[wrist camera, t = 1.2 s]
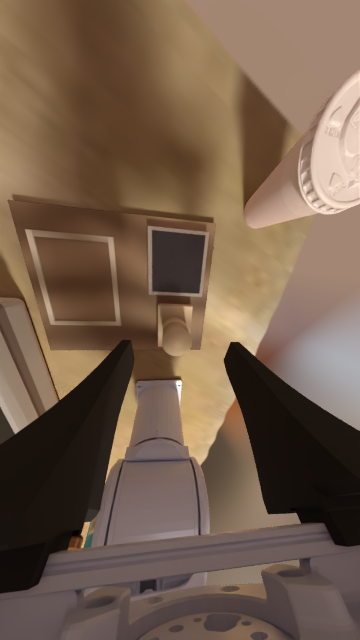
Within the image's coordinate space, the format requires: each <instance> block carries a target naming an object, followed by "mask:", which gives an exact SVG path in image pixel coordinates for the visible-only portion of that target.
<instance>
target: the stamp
mask: <svg viewBox="0 0 360 640" xmlns="http://www.w3.org/2000/svg"><path fill="white" fill-rule="evenodd" d="M192 310H193V306H192V305H191V304H177V303H159V304H158V347H163V349H164V350H165V352H166V353H168V354H169V355H172V356H181V355H184V354H186V353H187V352H188V351H189V350H190V348H191V346H192V338H191V336H190V331H191V320H192Z"/></svg>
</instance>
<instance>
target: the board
mask: <svg viewBox="0 0 360 640" xmlns="http://www.w3.org/2000/svg"><path fill="white" fill-rule="evenodd" d="M8 203H9V207H10V210H11V213H12V217H13V220H14V224H15V227H16V231H17V234H18V238H19V241H20V245H21V248H22V252H23V255H24V259H25V262H26V266H27V269H28V273H29V276H30V280H31V283H32V287H33V290H34V293H35V297H36V300H37V304H38V307H39V311H40V314H41V318H42V321H43V325H44V328H45V332H46V335H47V339H48V342H49V346H50V349H51V350H113V349H114V348H115V347H116V346H117V345H118V344H119V342H120V341H121V340H131V341H132V347H133V350H164V349H163V347H158V304H159V303H177V304H191V305H192V306H193V310H192V320H191V331H190V336H191V338H192V346H191V348H190V350H200V347H201V339H202V331H203V323H204V316H205V308H206V300H207V292H208V284H209V276H210V268H211V260H212V252H213V244H214V236H215V228H216V223H208V222H199V221H191V220H182V219H173V218H164V217H155V216H146V215H137V214H128V213H120V212H111V211H102V210H93V209H84V208H75V207H66V206H57V205H48V204H40V203H31V202H22V201H13V200H8ZM148 226H154V227H164V228H174V229H183V230H193V231H202V232H209V239H208V248H207V257H206V265H205V274H204V283H203V292H202V297H194V296H172V295H149V286H148Z"/></svg>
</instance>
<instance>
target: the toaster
mask: <svg viewBox="0 0 360 640" xmlns="http://www.w3.org/2000/svg"><path fill="white" fill-rule="evenodd" d="M57 402H59V401H58V398H57V395H56V392H55V389H54V386H53V383H52V381H51V378H50V375H49V372H48V369H47V366H46V363H45V360H44V358H43V355H42V352H41V349H40V346H39V343H38V340H37V337H36V335H35V332H34V329H33V326H32V323H31V320H30V317H29V314H28V312H27V309H26V306H25V303H24V301H22V300H21V299H19V298H0V444H2V443H3V442H5V441H6V440H8V439H9V438H10V437H12V436H13V435H15V434H16V433H17V432H19V431H20V430H22V429H23V428H24V427H26V426H27V425H28V424H30V423H31V422H33V421H34V420H35V419H37V418H38V417H39V416H41V415H42V414H43V413H45V412H46V411H47V410H49V409H50V408H51V407H52V406H54V405H55V404H56V403H57Z"/></svg>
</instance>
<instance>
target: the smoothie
mask: <svg viewBox="0 0 360 640" xmlns="http://www.w3.org/2000/svg"><path fill="white" fill-rule="evenodd" d="M358 204H360V70H358V71H357V72H355V73H354V74H353V75H352V76H350V77H349V79H347V80H346V81H345V82H344V83H343V84H342V86H341V87H340V88H339V89H338V90H337V91H336V92H335V93H334V94H333V95H331V96H330V97H329V98H328V99H327V100H326V101H325V102H324V103H323V105H322V106H321V107H320V109H319V110H318V111H317V113H316V114H315V115H314V117H313V119H312V121H311V123H310V125H309V127H308V129H307V131H306V132H305V133H304V135H303V136H302V137H301V138H300V139H299V140H298V142H297V143H296V144H295V145H294V147H293V148H292V149H291V150H290V151H289V153H288V154H287V155H286V156H285V157H284V158H283V160H282V161H281V162H280V163H279V164H278V166H277V167H276V168H275V169H274V170H273V172H272V173H271V174H270V175H269V176H268V177H267V179H266V180H265V181H264V182H263V183H262V185H261V186H260V187H259V188H258V189H257V191H256V192H255V193H254V194H253V195H252V196H251V198H250V199H249V200H248V202H247V203H246V206H245V209H244V218H245V221H246V223H247V225H248V226H249V227H251V228H254V229H257V228H261V227H265V226H269V225H273V224H277V223H281V222H285V221H289V220H293V219H297V218H300V217H304V216H309V215H313V214H316V213H322V214H335V213H338V212H341V211H343V210H345V209H348V208H350V207H353V206H355V205H358Z"/></svg>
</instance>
